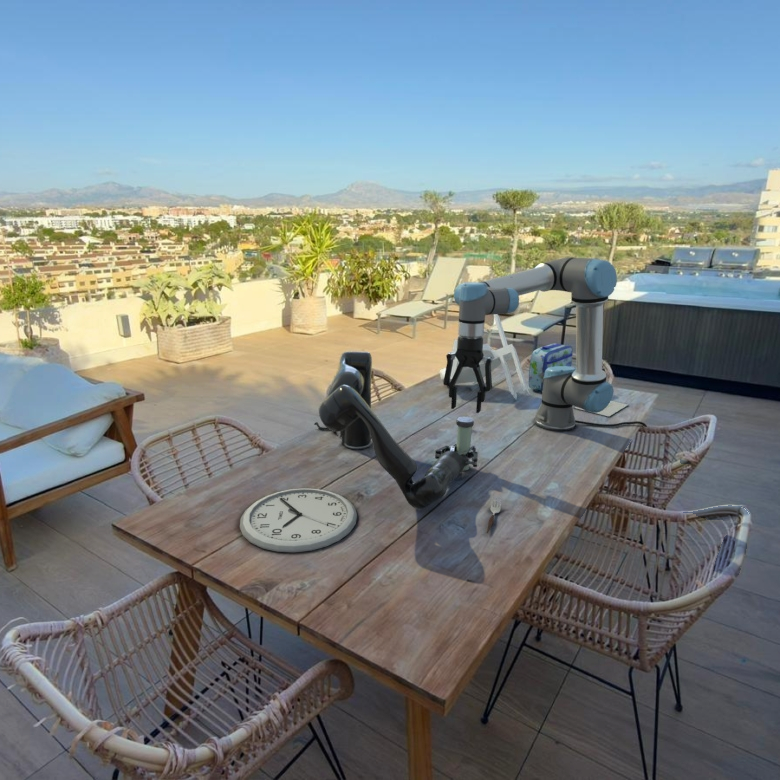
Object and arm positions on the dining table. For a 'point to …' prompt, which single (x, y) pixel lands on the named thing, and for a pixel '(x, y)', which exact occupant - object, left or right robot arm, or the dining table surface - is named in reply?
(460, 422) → the lid
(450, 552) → the dining table surface
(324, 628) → the dining table surface
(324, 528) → the wall clock
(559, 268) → the right robot arm
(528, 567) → the dining table surface
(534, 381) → the lunch box
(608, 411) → the invitation card
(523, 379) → the white plastic object
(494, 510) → the fork
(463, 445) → the bottle
